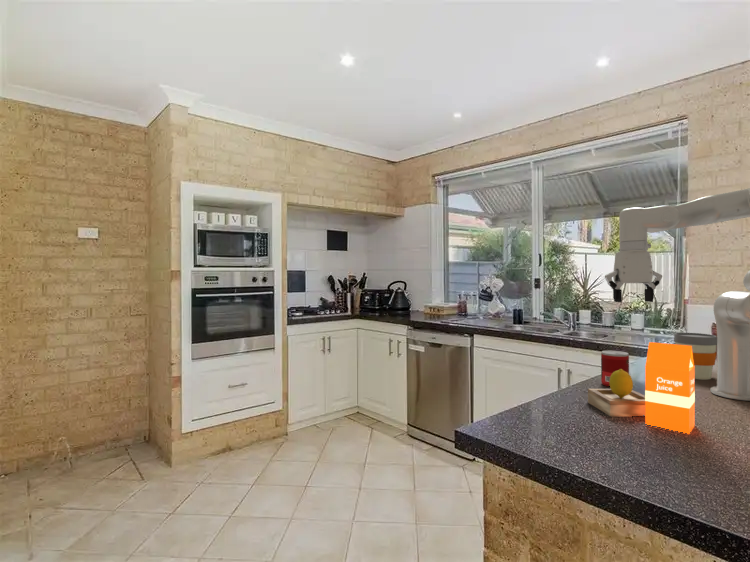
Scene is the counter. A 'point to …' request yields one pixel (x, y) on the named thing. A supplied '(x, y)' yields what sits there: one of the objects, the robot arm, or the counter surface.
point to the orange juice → (670, 387)
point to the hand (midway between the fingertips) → (633, 301)
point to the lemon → (621, 383)
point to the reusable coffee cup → (700, 351)
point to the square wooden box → (617, 402)
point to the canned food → (613, 364)
